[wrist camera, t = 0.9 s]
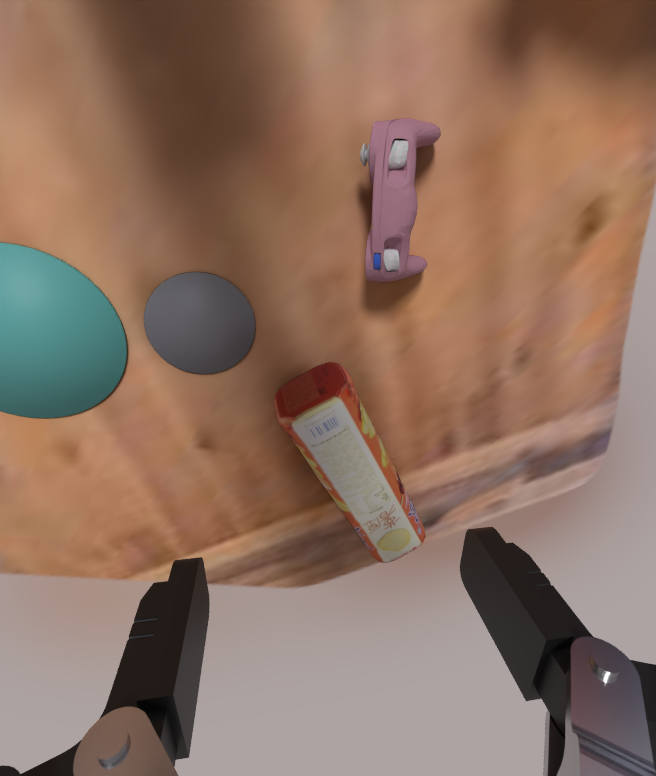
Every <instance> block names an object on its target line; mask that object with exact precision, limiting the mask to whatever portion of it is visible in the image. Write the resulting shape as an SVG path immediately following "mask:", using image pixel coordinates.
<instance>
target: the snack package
mask: <svg viewBox="0 0 656 776" xmlns="http://www.w3.org/2000/svg"><path fill="white" fill-rule="evenodd" d="M274 406H275V411H276V415H277V421H278V423H279V425H280V426H281V427H282V428H283V429H284V430H285V431H286V433H287V434H288V435H289V436H290V438H291V439H292V440H293V442H294V443H295V444H296V446H297V447H298V448H299V450H300V451H301V453H302V454H303V456H304V457H305V459H306V460H307V462H308V463H309V465H310V466H311V468H312V469H313V471H314V473H315V474H316V476H317V477H318V479H319V480H320V481H321V483H322V484H323V485H324V487H325V488H326V490H327V491H328V492H329V494H330V495H331V497H332V498H333V499H334V501H335V502H336V504H337V505H338V507H339V508H340V510H341V511H342V513H343V514H344V515H345V516H346V518H347V519H348V520H349V522H350V523H351V524H352V526H353V527H354V529H355V530H356V531H357V533H358V534H359V536H360V537H361V539H362V540H363V542H364V544H365V545H366V547H367V548H368V550H369V552H370V553H371V554H372V556H373V557H374V558H375V559H376V560H378V561H379V562H382V563H387V562H391V561H394V560H396V559H398V558H400V557H402V556H404V555H406V554H408V553H409V552H411V551H413V550H414V549H416V548H417V547H419V546H420V545H421V544H422V543H423V541H424V539H425V530H424V527H423V524H422V522H421V520H420V517H419V515H418V513H417V511H416V509H415V508H414V506H413V504H412V502H411V500H410V497H409V495H408V493H407V492H406V490H405V488H404V486H403V485H402V483H401V480H400V478H399V476H398V474H397V471H396V469H395V467H394V465H393V463H392V461H391V459H390V457H389V455H388V453H387V451H386V450H385V448H384V446H383V444H382V442H381V440H380V438H379V436H378V435H377V433H376V431H375V429H374V427H373V425H372V423H371V421H370V419H369V417H368V415H367V413H366V411H365V409H364V407H363V405H362V403H361V400H360V398H359V396H358V394H357V391H356V389H355V386H354V383H353V381H352V378H351V377H350V375H349V373H348V372H347V371H346V369H345V368H343V367H342V366H341V365H340V364H337V363H332V362H328V363H325V364H322V365H319V366H317V367H315V368H312V369H311V370H309V371H307V372H305V373H304V374H302V375H300V376H298V377H296V378H294V379H292V380H291V381H289V382H287V383H286V384H285V385H284V386H282V387H281V388H280V389H279V390H278V392H277V393H276V395H275V398H274Z"/></svg>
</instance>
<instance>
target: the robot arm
mask: <svg viewBox="0 0 656 776" xmlns="http://www.w3.org/2000/svg"><path fill="white" fill-rule="evenodd" d="M460 572H461V578H462V581H463V584H464V586H465V588H466V590H467V592H468V594H469V596H470V598H471V599H472V601H473V603H474V605H475V607H476V609H477V611H478V613H479V614H480V616H481V618H482V620H483V622H484V624H485V626H486V627H487V629H488V631H489V633H490V635H491V637H492V639H493V640H494V642H495V644H496V646H497V648H498V650H499V652H500V653H501V655H502V657H503V659H504V661H505V662H506V664H507V666H508V668H509V670H510V672H511V674H512V676H513V678H514V679H515V681H516V683H517V685H518V687H519V688H520V691H521V692H522V694H523V696H524V698H525V700H526V701H529V700H535V699H541V698H542V700H543V702H544V703H545V705H546V707H547V709H548V710H547V713H546V724H545V747H544V748H545V749H544V772H543V776H656V665H653V664H648V663H643V662H637V661H633V660H629V658H628V657H627V656H626V655H625V654H623V653H622V652H621V651H620V650H618V649H617V648H616V647H615V646H613V645H611V644H610V643H608V642H606V641H604V640H601V639H598V638H595V637H593V636H592V635H591V634H590V633H589V631H588V630H587V629H586V628H585V626H584V625H583V624H582V622H581V621H580V620H579V619H578V617H577V616H576V615H575V613H574V612H573V611H572V610H571V608H570V607H569V606H568V605H567V603H566V602H565V601H564V600H563V598H562V597H561V595H560V594H559V593H558V592H557V591H556V589H555V588H554V586H551V584H550V581H549V580H548V579H547V578H546V576H545V575H544V574H543V573H541V570H540V568H539V567H538V566H537V565H536V563H535V562H534V561H533V560H532V558H531V557H530V556H529V555H528V554H527V553H526V552H524V551H523V550H522V549H520V548H519V547H518V546H516V545H515V544H514V543H506V542H505V541H504V540H503V538H502V537H501V536H500V534H499V533H498V532H497V531H496V529H494V528H493V527H485V528H477V529H468V530H467V532H466V536H465V541H464V546H463V552H462V557H461V563H460ZM208 619H209V593H208V586H207V580H206V574H205V568H204V562H203V559H202V557H201V558H191V559H182V560H175V561H174V562H173V565H172V569H171V572H170V576H169V580H168V581H166V582H157V583H153V585H152V586H151V587H150V589H149V590H148V591H147V593H146V594H145V595H144V597H143V598H142V599H141V601H140V604H139V607H138V610H137V613H136V616H135V619H134V624H133V625H132V628H131V631H130V634H129V640H128V641H127V644H126V647H125V650H124V653H123V656H122V659H121V662H120V665H119V668H118V671H117V675H116V678H115V680H114V684H113V687H112V690H111V693H110V696H109V699H108V702H107V705H106V707H105V710H104V712H103V714H102V715H101V717H100V719H99V720H98V721H97V722H96V723H95V724H94V725H93V726H92V727H91V728H90V729H89V730H88V732H87V733H86V734H85V736H84V737H83V739H82V740H81V741H80V742H78V743H77V744H76V745H75V746H73V747H72V748H70V749H69V750H67V751H66V752H64V753H62V754H60V755H58V756H56V757H54V758H52V759H50V760H48V761H46V762H44V763H42V764H40V765H38V766H36V767H34V768H32V769H30V770H28V771H26V772H24V773H22V774H20V773H19V772H18V771H17V770H16V769H15V768H13V767H10V766H0V776H178V774H177V772H176V770H175V768H174V766H175V760H176V759H183V758H188V757H189V753H190V745H191V739H192V732H193V725H194V717H195V711H196V704H197V697H198V689H199V682H200V675H201V667H202V660H203V654H204V646H205V640H206V633H207V626H208Z"/></svg>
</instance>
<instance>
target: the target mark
mask: <svg viewBox="0 0 656 776" xmlns="http://www.w3.org/2000/svg"><path fill="white" fill-rule="evenodd" d="M126 358H127V342H126V337H125V332H124V329H123V326H122V323H121V320H120V318H119V316H118V314H117V312H116V311H115V309H114V307H113V306H112V304H111V303H110V301H109V300H108V298H107V297H106V296H105V295H104V294H103V293H102V291H101V290H100V289H99V288H98V287H97V286H96V285H95V284H94V283H93V282H92V281H91V280H90V279H89V278H87V277H86V276H85V275H83V274H82V273H81V272H79V271H78V270H77V269H75V268H74V267H72V266H70V265H69V264H67V263H66V262H64V261H62V260H60V259H58V258H56V257H54V256H52V255H50V254H47V253H44V252H42V251H39V250H36V249H33V248H29V247H25V246H21V245H16V244H9V243H0V411H2V412H5V413H9V414H13V415H18V416H24V417H31V418H56V417H63V416H69V415H72V414H76V413H79V412H82V411H84V410H87V409H89V408H91V407H93V406H94V405H96V404H98V403H99V402H101V401H102V400H103V399H105V398H106V397H107V396H108V395H109V394H110V393H111V392H112V391H113V389H114V388H115V387H116V385H117V384H118V382H119V380H120V378H121V376H122V374H123V372H124V368H125V364H126Z"/></svg>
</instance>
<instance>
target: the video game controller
mask: <svg viewBox="0 0 656 776" xmlns="http://www.w3.org/2000/svg"><path fill="white" fill-rule="evenodd" d="M440 135H441V132H440V129H439V128H438V127H437V126H436V125H434V124H432V123H429V122H424V121H419V120H415V119H410V118H403V119H395V120H388V121H377V122H374V124H373V126H372V132H371V139H370V144H369V146H368V148H367V146H366V143H364V144H363V146H362V149H361V151H360V159H361V162H362V164H363V166H366V161H367V162H368V165H369V168H370V179H371V184H372V186H373V200H372V224H371V226H370V231H369V234H368V240H367V247H366V258H365V269H366V278H367V280H369V281H377V282H391V281H395V280H399V279H403V278H407V277H410V276H413V275H416V274H418V273H420V272H422V271H424V269H425V268H426V267H427V261H426V260H425V259H424V258H423V257H420V256H412V255H408V254H409V244H410V234H411V230H412V228H413V225H414V222H415V218H416V214H417V195H416V191H415V186H414V182H415V170H416V148H419V147H424V146H429V145H432V144H433V143H434V142H436V141H437V140H438V139H439V137H440Z"/></svg>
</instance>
